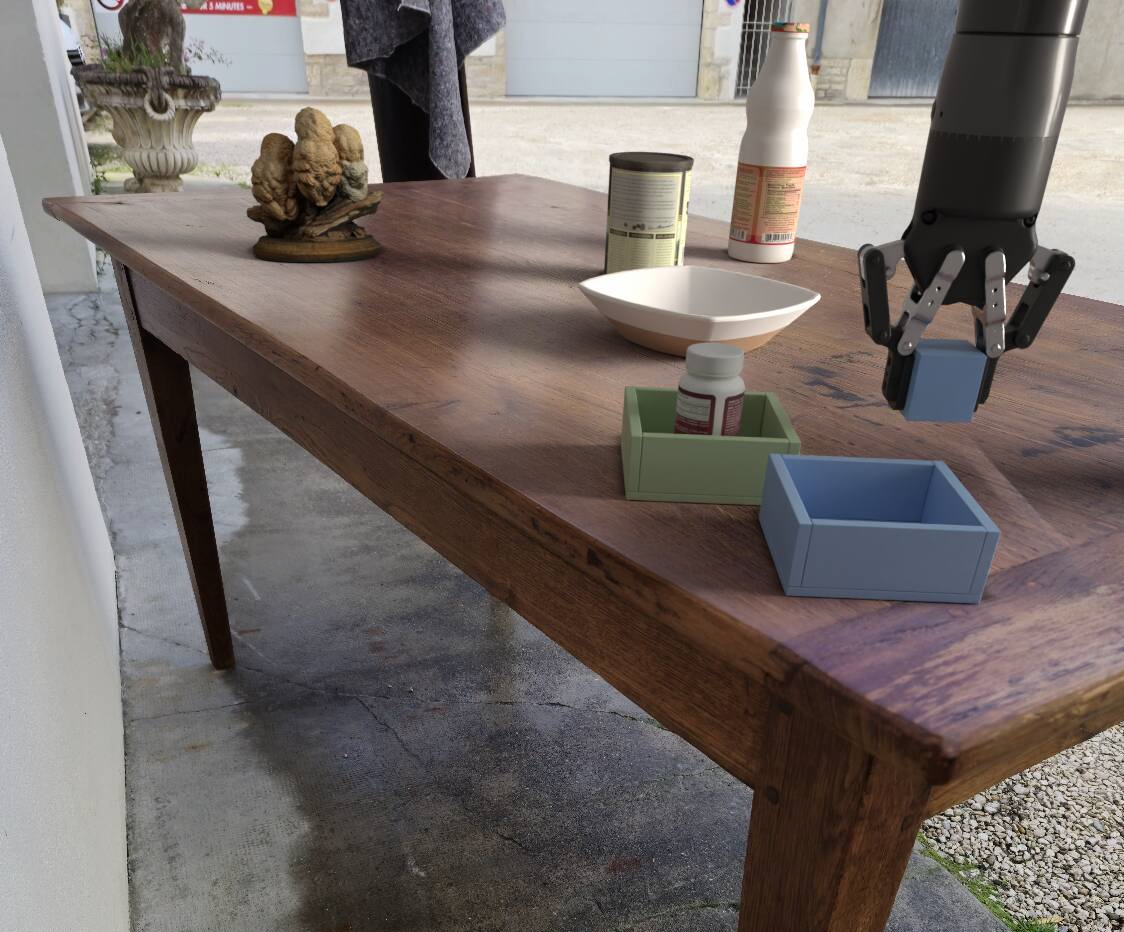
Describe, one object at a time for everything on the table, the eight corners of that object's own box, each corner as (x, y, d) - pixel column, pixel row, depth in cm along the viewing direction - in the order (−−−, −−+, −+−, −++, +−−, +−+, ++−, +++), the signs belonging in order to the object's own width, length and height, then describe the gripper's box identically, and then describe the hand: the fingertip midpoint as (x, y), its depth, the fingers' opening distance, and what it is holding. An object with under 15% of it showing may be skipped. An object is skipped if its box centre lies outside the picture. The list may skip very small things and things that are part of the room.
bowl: (838, 348, 110) (847, 295, 107) (708, 383, 97) (715, 324, 94) (681, 308, 122) (686, 260, 119) (549, 335, 110) (550, 282, 107)
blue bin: (926, 526, 71) (943, 460, 69) (979, 604, 62) (1001, 531, 59) (758, 519, 71) (768, 453, 69) (785, 596, 62) (798, 523, 59)
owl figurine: (376, 244, 148) (368, 103, 138) (397, 260, 139) (390, 111, 129) (246, 248, 142) (228, 101, 132) (260, 265, 133) (241, 109, 123)
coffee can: (591, 273, 137) (597, 150, 129) (663, 272, 140) (674, 151, 131) (618, 290, 129) (626, 161, 121) (694, 288, 132) (708, 161, 124)
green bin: (766, 450, 83) (775, 392, 80) (790, 507, 73) (801, 442, 71) (620, 444, 83) (624, 385, 80) (626, 500, 73) (630, 435, 70)
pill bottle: (721, 453, 80) (736, 339, 75) (743, 476, 76) (760, 357, 71) (662, 456, 79) (673, 340, 74) (681, 478, 75) (694, 359, 70)
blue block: (952, 403, 75) (967, 339, 72) (970, 422, 71) (987, 356, 69) (891, 401, 75) (904, 337, 72) (906, 421, 71) (921, 354, 69)
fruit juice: (716, 258, 149) (743, 20, 133) (741, 249, 156) (770, 21, 140) (777, 267, 146) (813, 23, 129) (801, 257, 152) (837, 24, 136)
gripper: (892, 127, 60) (840, 423, 70) (1139, 134, 60) (1052, 428, 70) (863, 117, 66) (819, 390, 76) (1088, 122, 66) (1014, 395, 76)
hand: (931, 406), depth 73 cm, fingers closed on blue block, 4 cm apart
